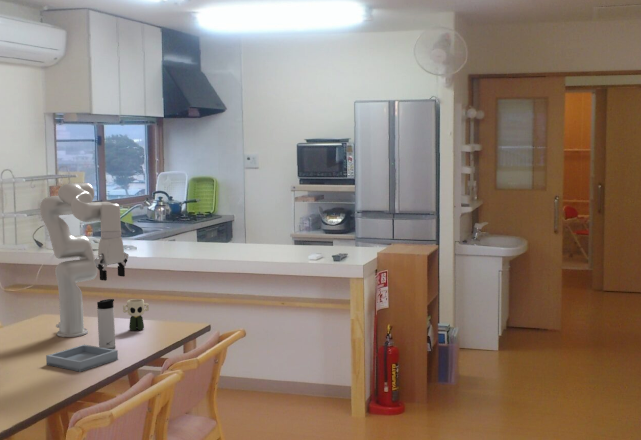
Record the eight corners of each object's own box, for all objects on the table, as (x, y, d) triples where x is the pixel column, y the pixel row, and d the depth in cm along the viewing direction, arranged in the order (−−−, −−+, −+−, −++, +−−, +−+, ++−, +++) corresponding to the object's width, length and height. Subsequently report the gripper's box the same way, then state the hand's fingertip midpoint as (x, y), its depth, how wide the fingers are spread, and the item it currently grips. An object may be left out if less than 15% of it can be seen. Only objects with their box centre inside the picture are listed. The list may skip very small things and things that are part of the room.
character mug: (124, 332, 332) (123, 302, 331) (123, 328, 339) (122, 299, 338) (150, 330, 335) (148, 301, 334) (149, 326, 342) (147, 298, 341)
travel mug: (111, 351, 302) (109, 301, 300) (96, 350, 303) (94, 300, 301) (119, 347, 308) (117, 297, 306) (103, 346, 309) (101, 297, 307)
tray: (46, 364, 284) (46, 355, 284) (84, 353, 300) (84, 344, 299) (80, 371, 275) (79, 362, 275) (117, 359, 290) (117, 350, 290)
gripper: (119, 232, 311) (121, 273, 313) (87, 237, 296) (89, 281, 298) (133, 233, 307) (135, 275, 309) (101, 238, 292) (103, 282, 294)
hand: (112, 278), depth 303 cm, fingers open, 9 cm apart
